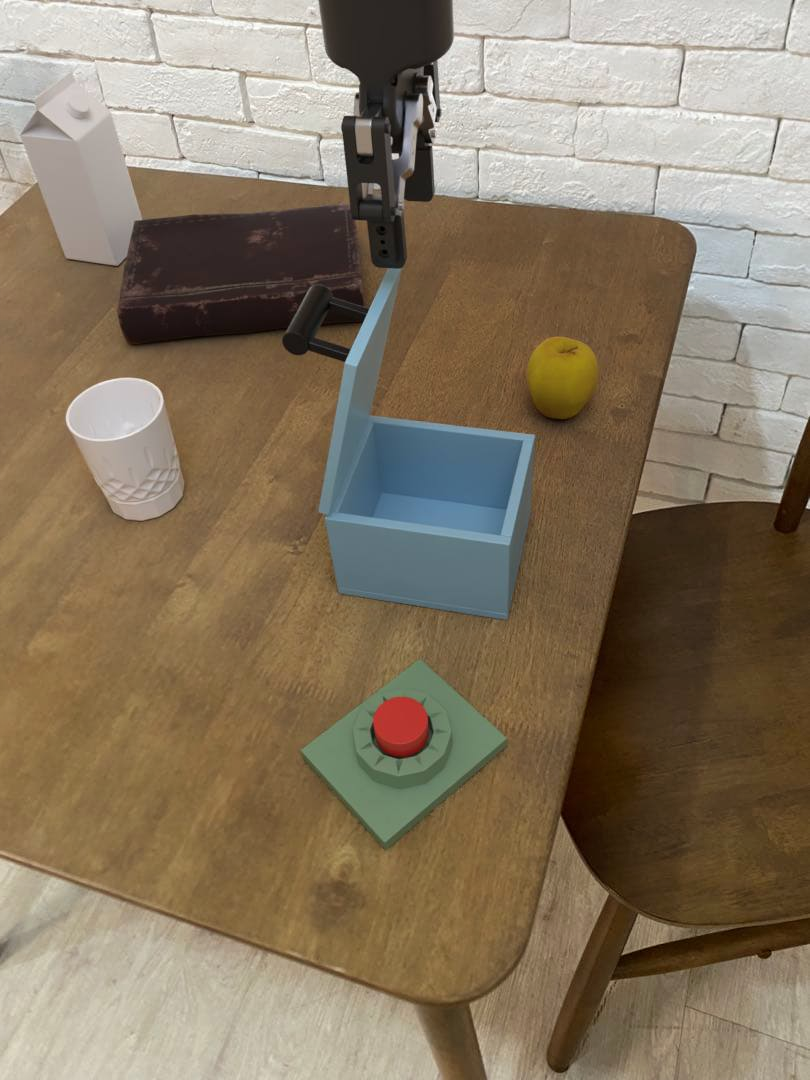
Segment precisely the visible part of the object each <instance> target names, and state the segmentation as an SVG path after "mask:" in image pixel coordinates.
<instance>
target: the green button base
mask: <svg viewBox="0 0 810 1080" xmlns="http://www.w3.org/2000/svg"><path fill="white" fill-rule="evenodd" d="M394 697H409V698H412V699H414V700H416V701H418V702H419V703H420V704H421V705H422V706H423V707H424V708H425V710H426V713H427V716H428V727H429V736H428V740H427V742H426V744H425V746H424V747H423V748H422V749H421V750H420V751H419V752H417V753H415V754H413V755H411V756H407V757H395V756H392V755H389V754H387V753H386V752H384V751H383V750H382V749H381V748H380V747H379V745H378V743H377V741H376V737H375V731H374V725H373V718H374V714H375V712H376V710H377V709H378V707H379V706H380V705H381V704H382V703H384V702H385V701H387V700H389V699H391V698H394ZM507 746H508V738H507V736H506V735H505V734H504V733H502V732H501V731H500V730H499V729H498V728H497V727H496V726H494V724H493V723H491V721H489V720H488V719H487V718H486V717H485V716H484V715H483V714H481V712H479V710H477V709H476V708H475V707H474V706H473V705H472V704H471V703H469V702H468V701H467V699H465V698H464V697H463V696H462V695H461V694H459V693H458V692H457V691H456V690H455V689H454V688H453V687H452V686H451V685H450V684H449V683H447V682H446V680H444V679H443V678H442V677H441V676H440V675H438V674H437V673H436V672H435V671H434V670H433V669H432V668H431V667H430V666H429V665H428V664H427V663H425V661H423V660H422V659H421V658H419V659H417V660H416V661H415V662H413V663H412V664H411V665H409V666H408V667H407V668H405V669H404V670H403V671H401V672H400V673H399V674H398V675H397V676H395V677H394V678H393V679H391V680H390V681H388V682H387V683H386V684H385V685H382V687H381V688H379V689H378V690H377V691H376V692H374V693H373V694H371V695H370V696H369V697H368V698H366V699H365V700H363V702H361V703H360V704H359V705H357V706H356V707H354V708H353V709H352V710H350V711H349V712H348V713H347V714H346V715H344V716H342V718H340V719H339V720H337V721H336V722H335V723H334V724H332V725H331V726H330V727H328V728H327V729H326V730H324V731H323V732H322V733H321V734H319V735H318V736H316V737H315V738H314V739H313V740H311V741H310V742H309V743H308V744H307V745H304V747H302V748H301V749H300V753H301V757H302V759H303V761H305V763H306V764H307V765H308V766H309V767H310V768H311V769H312V771H313V772H314V773H315V774H316V775H317V776H318V777H319V778H320V780H322V781H323V783H324V784H325V785H326V787H328V788H329V789H330V791H331V792H332V793H333V794H334V795H335V796H336V797H337V798H338V799H339V801H341V802H342V804H343V805H344V806H345V807H346V808H347V809H348V811H349V812H351V814H352V815H353V816H354V817H355V818H356V819H357V820H358V822H359V823H360V824H361V825H362V826H363V827H364V828H365V829H366V830H367V831H368V832H369V834H371V836H372V837H373V838H374V839H375V841H377V842H378V843H379V845H380V846H381V847H382V848H383V850H385V851H387V850H388V849H389V848H390V847H392V846H393V845H394V844H395V843H396V842H398V840H400V839H401V838H402V837H403V836H404V835H406V834H407V833H408V832H409V831H410V830H411V829H412V828H414V827H415V826H416V825H417V824H419V823H420V822H421V821H422V820H423V819H424V818H425V817H427V816H428V815H429V814H430V813H431V812H432V811H433V810H435V809H436V808H437V807H438V806H440V805H441V804H442V803H443V802H444V801H445V800H446V799H448V798H449V797H450V796H451V795H452V794H453V793H454V792H455V791H457V790H458V789H459V788H460V787H461V786H462V785H464V784H465V783H466V782H467V781H468V780H469V779H471V778H472V777H473V776H474V775H475V774H476V773H478V772H479V771H480V770H482V769H483V768H484V767H485V766H486V765H487V764H488V763H489V762H490V761H492V760H493V759H494V758H495V757H497V755H499V754H500V753H501V752H502V751H503V750H505V749H506V748H507Z"/></svg>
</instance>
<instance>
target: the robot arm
mask: <svg viewBox="0 0 810 1080" xmlns="http://www.w3.org/2000/svg"><path fill="white" fill-rule="evenodd" d="M317 2H318V8H319V17H320V24H321V30H322V32H321V33H322V39H323V47H324V51H325V54H326V56H327V57H328V59H329V60H330V61H331V62H332V63H333V64H334V65H336V66H338V67H339V68H342V69H345V70H347V71H349V72H350V73H352V74H353V75H354V76H356V78H358V81H359V84H358V92H357V91H356V92H355V94H354V99H353V100H354V101H353V115H343V118H342V122H341V125H340V128H341V134H342V141H343V142H342V143H343V152H344V162H345V169H346V179H347V180H346V181H347V189H348V199H349V203H350V212H351V216H352V219H353V220H356V221H366V226H367V234H368V242H369V243H368V244H369V251H370V252H369V253H370V260H371V264H372V265H373V266H374V267H376V268H381V269H388V268H395V269H400V268H402V269H403V268H404V266H405V265H406V262H407V261H408V260H407V259H408V251H407V250H408V249H407V237H406V226H405V214H404V210H405V201H407V202H418V203H429V202H430V201H431V202H432V199H433V198H434V195H435V192H436V188H435V169H434V153H433V151H434V149H433V145H434V144H435V141H436V139H437V130H436V125H435V123H440V120H441V117H442V108H441V98H440V81H439V80H440V79H439V65H438V61H439V60H440V59H441V58H443V57H444V56H445V55H446V54H448V52H449V51H450V49H451V48H452V45H453V44H454V39H455V29H454V28H455V27H454V26H455V25H454V0H318V1H317ZM431 144H432V145H431ZM393 154H397V155H398V157H397V158H394V159H393ZM375 184H376V185H378V186H379V187H380V193H374V190H375V189H374V188H375Z"/></svg>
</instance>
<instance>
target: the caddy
mask: <svg viewBox="0 0 810 1080" xmlns="http://www.w3.org/2000/svg"><path fill="white" fill-rule="evenodd" d="M535 445H536V434H531V433H522V432H514V431H505V430H496V429H488V428H480V427H471V426H464V425H463V426H461V425H456V424H455V425H454V424H447V423H437V422H428V421H421V420H413V419H405V418H404V419H403V418H395V417H386V416H379V415H371V414H370V415H369V418H368V420H367V423H366V425H365V427H364V430H363V432H362V435H361V437H360V440H359V442H358V445H357V447H356V450H355V452H354V454H353V457H352V459H351V462H350V464H349V467H348V469H347V472H346V474H345V476H344V479H343V481H342V484H341V486H340V489H339V491H338V494H337V496H336V499H335V501H334V503H333V506H332V508H331V511H330V513H329V515H325V517H324V523H325V528H326V529H325V530H326V533H327V540H328V546H329V551H330V556H331V561H332V567H333V572H334V578H335V582H336V587H337V588H336V589H337V593H338V594H339V595H347V596H353V597H359V598H365V599H372V600H378V601H385V602H391V603H396V604H403V605H408V606H415V607H422V608H427V609H428V608H429V609H433V610H434V609H435V610H441V611H447V612H453V613H458V614H459V613H460V614H465V615H472V616H477V617H478V616H479V617H483V618H484V617H485V618H491V619H496V620H502V621H508V619H509V615H510V610H511V606H512V601H513V597H514V592H515V587H516V583H517V579H518V574H519V569H520V564H521V561H522V560H521V559H522V555H523V552H524V551H523V550H524V546H525V542H526V537H527V532H528V527H529V524H530V523H529V522H530V518H531V514H532V501H533V500H532V499H533V484H534V483H533V482H534V465H535V463H534V462H535Z"/></svg>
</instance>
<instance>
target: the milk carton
mask: <svg viewBox="0 0 810 1080" xmlns="http://www.w3.org/2000/svg"><path fill="white" fill-rule="evenodd" d="M32 100H33V102H34V103H33V104H34V106H35V109H36V111H35V112H34V113H33V115H32V116H31V118H30V120H29V121H28V122H27V124H26V125H25V127H24V128H23V129H22V131H21V132H20V134H19V137H20V139H21V142H22V144H23V147H24V150H25V152H26V156H27V158H28V160H29V164H30V166H31V169H32V172H33V174H34V177H35V180H36V182H37V184H38V187H39V190H40V192H41V195H42V198H43V201H44V204H45V206H46V209H47V211H48V214H49V217H50V220H51V222H52V225H53V227H54V231H55V232H56V236H57V238H58V242H59V243H60V246H61V250H62V252H63V255H64V257H65V259H67V260H72V261H73V260H74V261H79V262H80V261H81V262H87V263H95V264H101V265H108V266H115V267H118V266H119V265H120V264H122V262H124V261H125V260H126V257H127V253H128V248H129V243H130V239H131V234H132V230H133V225H134V221H138V220H143V217H142V213H141V210H140V207H139V203H138V199H137V196H136V193H135V190H134V186H133V183H132V179H131V176H130V172H129V168H128V165H127V163H126V158H125V155H124V152H123V149H122V145H121V142H120V139H119V135H118V132H117V128H116V125H115V121H114V118H113V114H112V112H111V110H110V109H109V108H108V107H106V106H105V105H104V103H102V102H101V101H99V100H98V99H97V98H96V97H95V96H94V95H93V94H91V93H90V92H89V91H87V90H86V88H84V87H83V86H82V85H80V83H78V82H77V81H76V79H75V76H74V72H73V71H72V70H70V71H68V72H67V73H66V74H65V75H63V76H62V77H60V78H59V79H58V80H56V81H55V82H54V83H53V84H51V85H50V86H48V87H47V88H46V89H45V90H43V91H42V92H41V93H39V95H37V96H36V97H34V98H33V99H32Z"/></svg>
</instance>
